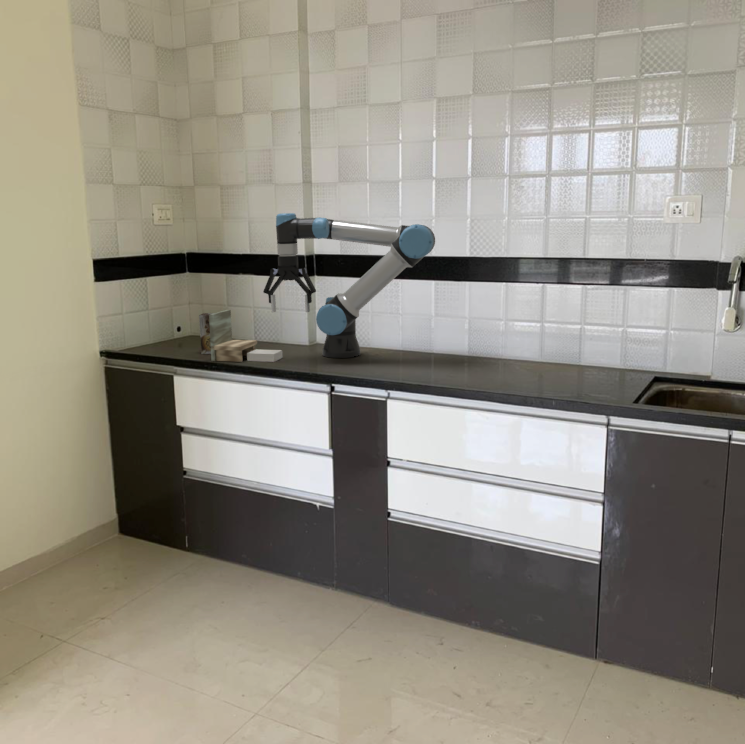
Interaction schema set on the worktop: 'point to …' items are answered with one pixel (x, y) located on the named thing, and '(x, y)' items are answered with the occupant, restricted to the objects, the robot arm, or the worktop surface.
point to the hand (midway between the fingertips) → (290, 312)
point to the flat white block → (264, 355)
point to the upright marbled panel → (226, 339)
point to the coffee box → (205, 333)
